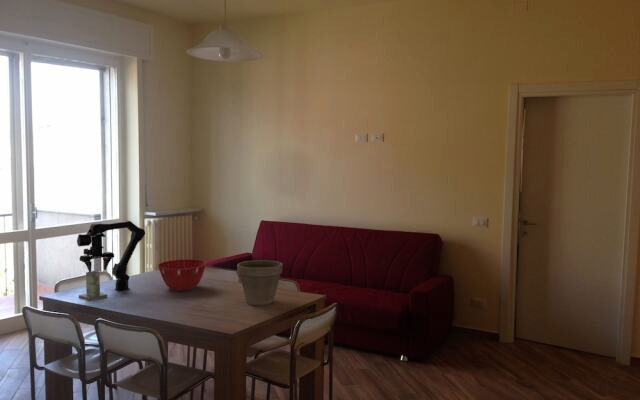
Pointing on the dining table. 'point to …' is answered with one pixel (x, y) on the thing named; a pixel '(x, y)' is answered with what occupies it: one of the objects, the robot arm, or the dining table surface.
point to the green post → (93, 283)
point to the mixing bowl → (182, 273)
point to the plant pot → (259, 280)
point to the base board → (89, 298)
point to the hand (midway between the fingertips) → (97, 271)
